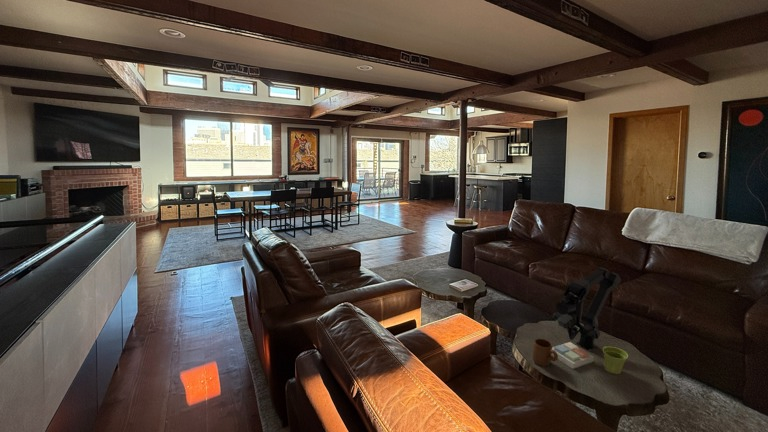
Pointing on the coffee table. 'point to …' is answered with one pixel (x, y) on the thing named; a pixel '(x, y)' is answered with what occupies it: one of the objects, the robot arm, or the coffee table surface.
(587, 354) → the key coral
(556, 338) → the coffee table surface
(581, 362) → the keypad
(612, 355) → the plant pot
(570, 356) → the key sage
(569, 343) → the key cream
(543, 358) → the mug
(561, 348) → the key slate
